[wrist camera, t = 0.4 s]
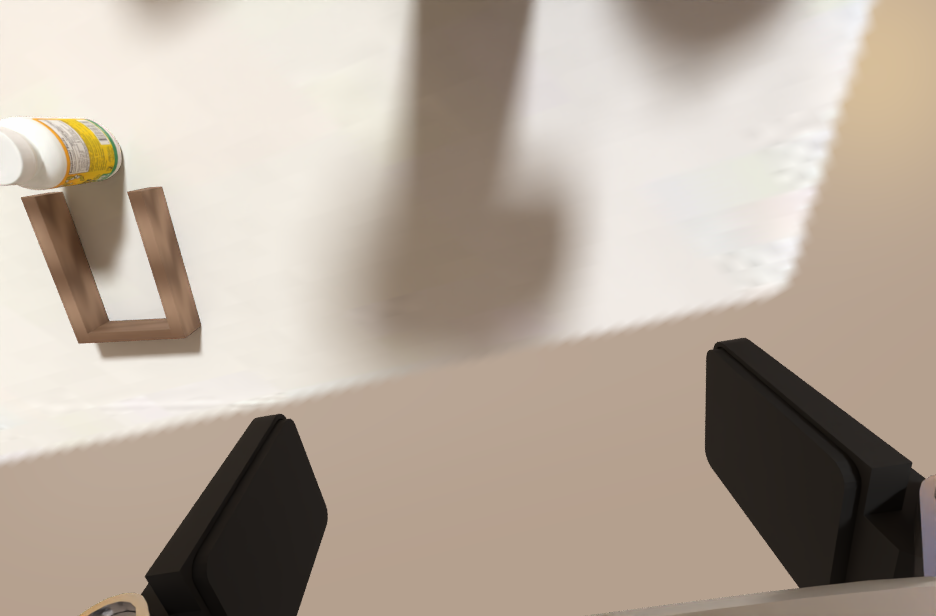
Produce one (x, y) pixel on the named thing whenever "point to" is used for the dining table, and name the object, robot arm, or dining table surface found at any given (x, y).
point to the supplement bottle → (56, 152)
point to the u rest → (79, 283)
